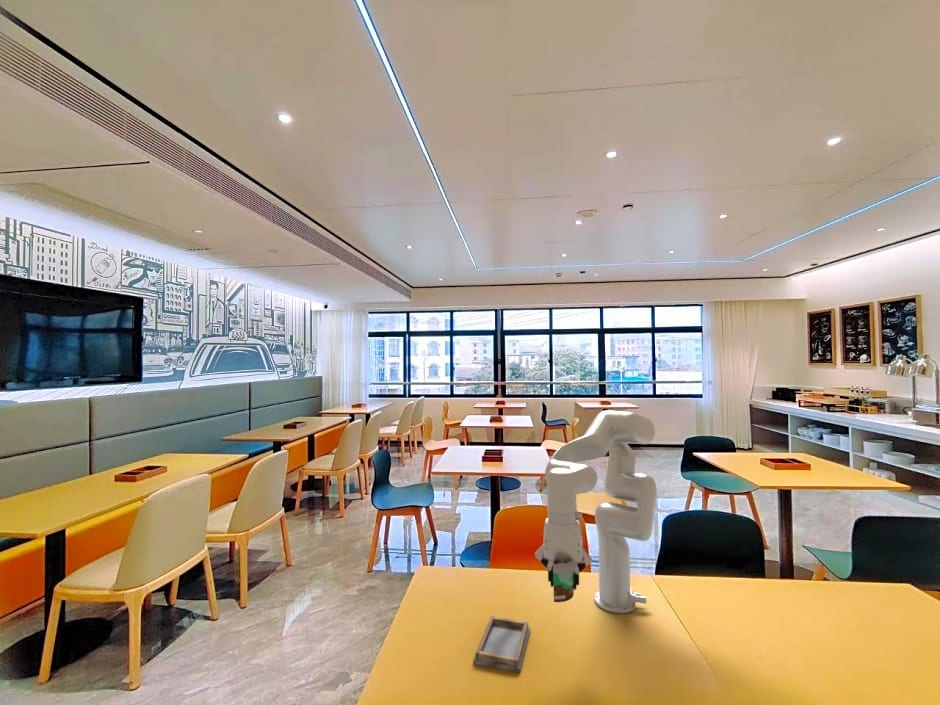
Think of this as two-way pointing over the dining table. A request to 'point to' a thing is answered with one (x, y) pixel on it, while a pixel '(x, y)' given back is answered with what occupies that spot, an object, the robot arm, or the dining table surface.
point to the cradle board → (503, 644)
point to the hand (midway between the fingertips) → (563, 584)
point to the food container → (563, 580)
